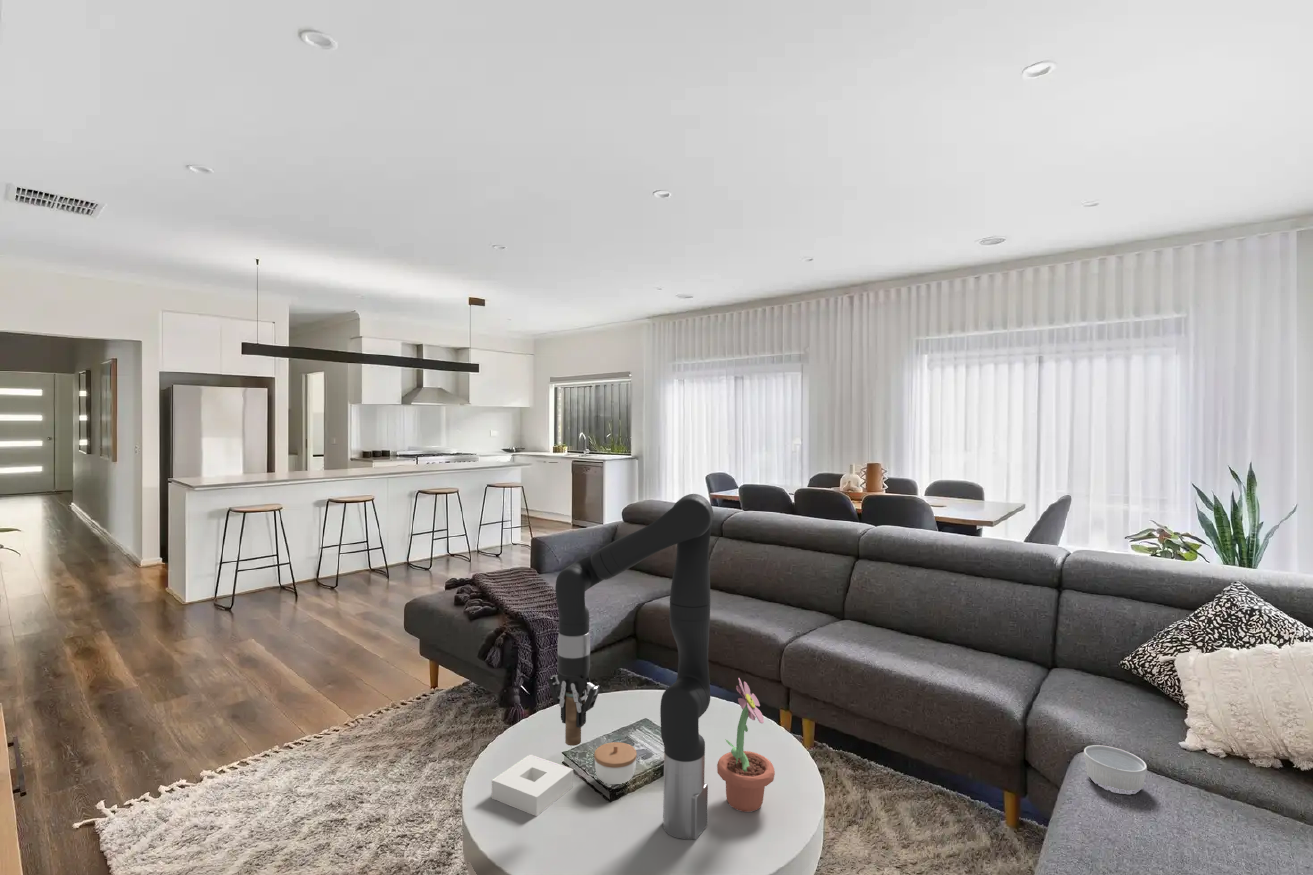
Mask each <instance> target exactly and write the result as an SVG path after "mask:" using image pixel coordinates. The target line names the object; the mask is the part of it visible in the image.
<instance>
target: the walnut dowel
mask: <svg viewBox="0 0 1313 875" xmlns="http://www.w3.org/2000/svg"><path fill="white" fill-rule="evenodd" d="M581 695H582V694H581ZM581 695H580V696H579V697H581ZM576 719H577V707H576V703H575V702H574V698H573V693H570V692H567V691H566V724H565V729H564V730H565V734H564V735H565V737H564V739H565V744H566V745H567V746H571V747H572V746H573V747H574V746H578V745H580V744H581V743H582V727H581V728H578V727H577V726H576Z"/></svg>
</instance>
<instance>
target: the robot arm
mask: <svg viewBox="0 0 1313 875" xmlns="http://www.w3.org/2000/svg"><path fill="white" fill-rule="evenodd" d="M713 521H714V510H713V507H712V505H711V503H710V502H709V500H708V499H707V498H706V497H704V496H703V495H700V494H698V493H690V494H686V495H685V496H683V497H681V498H679V499H678V500H677V501H676V503H674V505H673V506H672V507H671V508H670V509H669V510H667V511H666V512H665V513H664V514H663V515H661V516H660V517H659V518H658V519H656V520H655V521H653V522H651V523H650V524H649V523H648V525H647V526H644V527H643V528H641V529H639V530H636V531H634V532H631V533H629V534H627V535H625V536H622V537H620V538H618V539H616V540H614V541H612V542H610V543H608V544H607V545H605V546H603V547H601V548H600V549H598V550H597V551H594V553H592V554H591V555H588V556H586V557H583V558H581V559H579V560H577V561H575V562H573V563H572V564H570V565H569V566H567V567H565V568H564V569H562V570H561V571H560V572H559V573H558V575H557V577H556V580H555V586H554V587H555V588H554V589H555V599H556V605H557V608H558V610H557V611H558V613H559V614H558V615H559V617H558V638H557V663H556V666H557V668H556V669H557V672H558V673H557V674H553V675H551V676H549V677H548V678H547V683H548V686H549V690H550V694H551V697H552V700H553V703H554V704H558V706H559V707H560V720H561V723H562V724H563V725H566V691H567V692H570V693H573V698H574V702H575V703H576V707H577V719H576V726H577V727H578V728H581V729H582V727H583V726H584V725H585V724H586V722H587V712H588V711H590V710H591V709H592V708H594V707H595V704H596V702H597V698H598V694H599V692H600V690H601V686H600V685H599V684H597V685H595V684H593V682H591V679H590V677H589V674H590V671H591V637H590V611H589V608H588V607H587V606H586V599H585V598H586V591H588V590H589V589H591V588H593V586H596V585H598V584H599V583H600V582H603V581H604V580H609V579H612V578H613V577H616V576H617V575H619V574H621V573H623V572H625V571H627V570H629V569H630V568H632V567H634V566H636V565H638V564H639V563H640V562H642V561H644V560H646V559H647V558H649V557H651V556H652V555H654V554H656V553H659V552H661V551H663V550H665V549H667V548H669V547H671V546H674V545H676V559H675V564H674V570H673V574H672V579H671V585H670V593H669V615H668V616H669V625H670V630H671V633H672V636H673V639H674V641H675V643H676V647H677V653H678V665H677V667H678V668H677V675H676V676H677V677H676V679H675V681H674V682H673V683H672V684H671V685H670V686H669V687H668V688H666V689H665V690H664V692H663V693H662V695H661V699H660V709H659V710H660V712H659V714H660V715H659V716H660V737H661V741H662V743H663V803H662V805H663V807H662V808H663V812H662V813H663V814H662V820H663V822H662V824H663V827H662V828H663V830H664V831H665V832H666V833H667V834H668V835H669V836H672V837H674V838H677V839H684V840H685V839H692V840H697V839H698V838H699V836H700V835H701V833H703V831H704V830H706V828H707V826H708V800H709V799H708V798H709V797H708V794H709V792H708V791H709V790H708V789H709V785H708V784H707V783H705V764H706V763H705V762H706V761H705V759H706V758H705V755H706V754H705V753H706V742H705V739H704V737H703V735H701V734H700V733H699V731H700V730H699V722H700V720H699V719H700V718H701V717H702V716H703V715H704V714H705V713H706V711H707V710H708V709H709V706H710V703H711V685H710V684H711V683H710V670H709V669H710V667H709V645H710V644H709V643H710V622H711V576H710V564H709V563H710V561H709V555H710V554H709V553H710V552H709V551H710V548H709V547H710V542H711V540H710V539H711V533H712V527H713V526H712V525H713ZM581 694H582V695H581ZM580 695H581V697H579V696H580Z"/></svg>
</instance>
